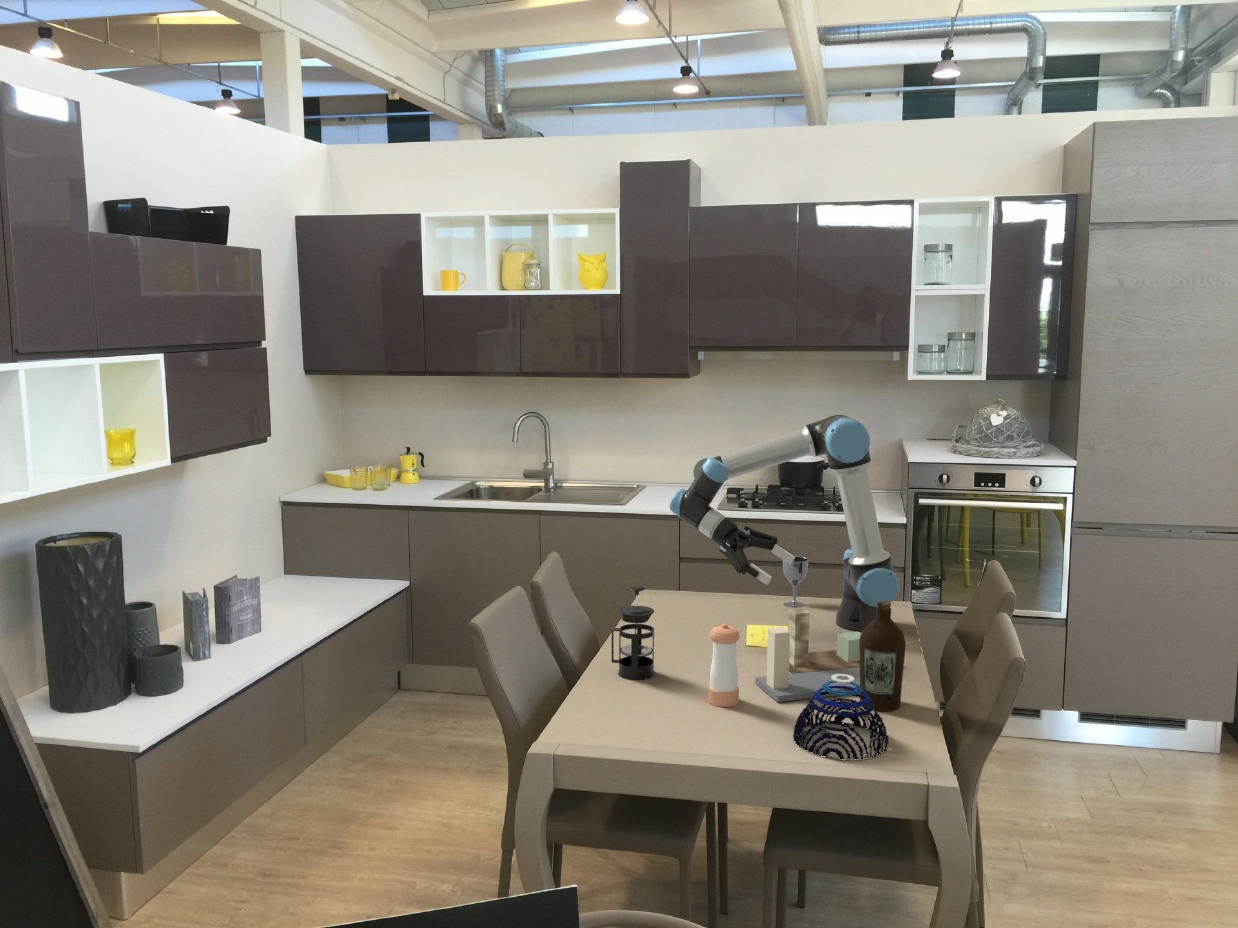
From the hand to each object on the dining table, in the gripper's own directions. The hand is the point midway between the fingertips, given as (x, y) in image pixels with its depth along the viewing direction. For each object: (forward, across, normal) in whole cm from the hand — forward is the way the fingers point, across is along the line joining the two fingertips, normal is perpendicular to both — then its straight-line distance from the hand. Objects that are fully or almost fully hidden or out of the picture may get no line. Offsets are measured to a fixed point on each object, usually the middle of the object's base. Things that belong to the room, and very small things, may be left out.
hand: (781, 570), depth 273 cm
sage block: (+27, 0, -10) cm, 29 cm away
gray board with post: (+27, +21, -7) cm, 35 cm away
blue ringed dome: (+40, +48, +6) cm, 62 cm away
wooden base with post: (+26, +4, -12) cm, 29 cm away
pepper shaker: (+12, +44, -10) cm, 46 cm away
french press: (-12, +41, -24) cm, 49 cm away
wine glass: (-1, -40, -38) cm, 54 cm away
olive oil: (+41, +23, +1) cm, 47 cm away
